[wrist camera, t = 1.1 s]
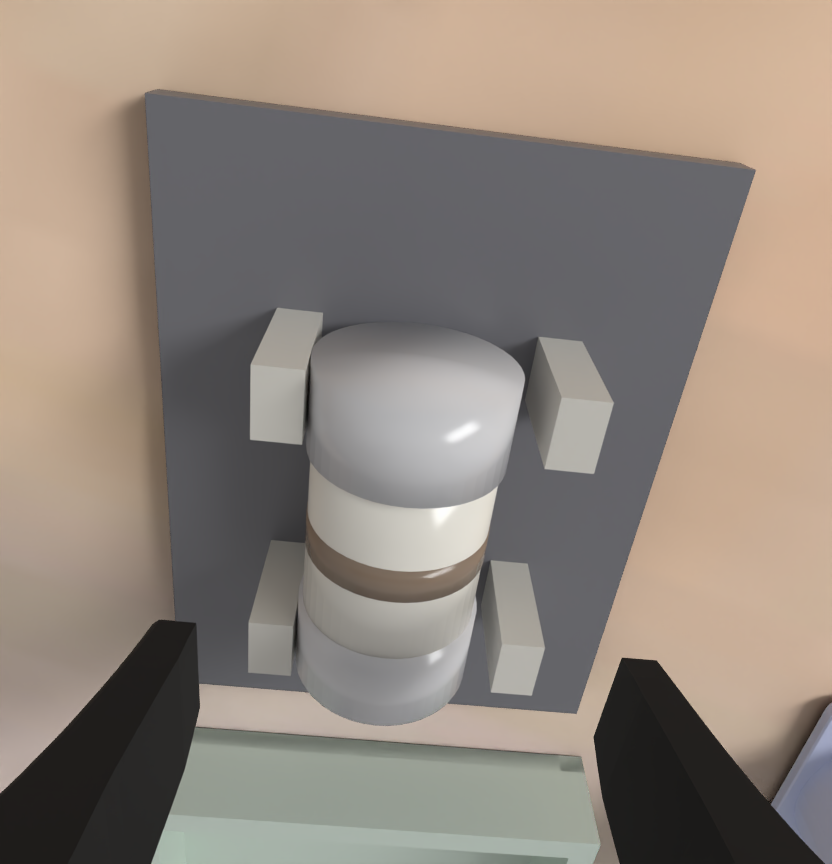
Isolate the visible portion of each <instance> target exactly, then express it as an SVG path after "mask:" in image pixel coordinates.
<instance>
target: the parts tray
mask: <svg viewBox="0 0 832 864" xmlns="http://www.w3.org/2000/svg"><path fill="white" fill-rule="evenodd" d="M600 845H601V843H600V839H599V835H598V830H597V826H596V821H595V817H594V812H593V808H592V803H591V799H590V794H589V790H588V785H587V781H586V776H585V772H584V768H583V763H582V759H581V757H575V756H562V755H549V754H536V753H523V752H510V751H497V750H484V749H471V748H458V747H445V746H432V745H418V744H405V743H392V742H379V741H366V740H353V739H340V738H327V737H314V736H301V735H288V734H275V733H262V732H249V731H236V730H223V729H210V728H197V727H195V730H194V734H193V739H192V743H191V747H190V751H189V755H188V759H187V763H186V767H185V770H184V773H183V776H182V779H181V782H180V785H179V787H178V790H177V793H176V796H175V799H174V802H173V804H172V807H171V810H170V813H169V816H168V818H167V821H166V824H165V827H164V830H163V832H162V835H161V838H160V841H159V843H158V846H157V849H156V852H155V855H154V857H153V860H152V863H151V864H593V862H594V860H595V857H596V855H597V853H598V850H599V848H600Z"/></svg>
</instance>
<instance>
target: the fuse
mask: <svg viewBox="0 0 832 864" xmlns="http://www.w3.org/2000/svg"><path fill="white" fill-rule="evenodd" d="M524 383H525V375H524V372H523V370H522V368H521V366H520V365H519V364H518V362H517V361H516V360H515V359H514V358H513V357H512V356H510V355H509V354H508V353H506V352H505V351H504V350H502V349H500V348H499V347H497V346H495V345H493V344H491V343H489V342H487V341H485V340H483V339H480V338H478V337H475V336H472V335H470V334H467V333H463V332H460V331H456V330H452V329H448V328H444V327H439V326H433V325H427V324H420V323H409V322H374V323H364V324H358V325H353V326H348V327H345V328H341V329H338V330H336V331H333V332H331V333H329V334H327V335H325V336H324V337H322V338H321V339H320V340H318V342H317V343H316V344H315V345H314V347H313V349H312V351H311V360H310V379H309V398H308V418H307V437H306V449H307V454H308V457H309V460H310V473H309V491H308V502H307V510H306V529H305V563H304V575H303V577H302V579H301V582H300V585H299V593H298V612H297V632H296V651H295V659H296V667H297V671H298V674H299V677H300V679H301V681H302V683H303V685H304V686H305V688H306V689H307V691H308V692H309V693H310V694H311V695H312V697H313V698H314V699H315V700H317V701H318V702H319V703H320V704H321V705H322V706H324V707H325V708H327V709H328V710H330V711H331V712H333V713H335V714H337V715H339V716H341V717H344V718H346V719H349V720H352V721H355V722H359V723H363V724H370V725H379V726H392V725H402V724H407V723H412V722H415V721H418V720H421V719H423V718H426V717H428V716H430V715H432V714H434V713H435V712H437V711H438V710H440V709H441V708H442V707H443V706H445V705H446V704H447V703H448V702H449V701H450V700H451V699H452V697H453V696H454V695H455V693H456V692H457V690H458V688H459V686H460V684H461V681H462V678H463V673H464V668H465V664H466V659H467V654H468V649H469V645H470V640H471V635H472V630H473V626H474V621H475V616H476V611H477V602H476V596H475V595H476V590H477V585H478V580H479V575H480V570H481V567H482V564H483V560H484V556H485V551H486V546H487V541H488V536H489V531H490V522H491V517H492V512H493V508H494V503H495V498H496V493H497V488H498V485H499V484H500V483H501V481H502V480H503V478H504V476H505V474H506V469H507V464H508V460H509V455H510V450H511V445H512V441H513V436H514V431H515V426H516V422H517V417H518V412H519V407H520V403H521V398H522V393H523V388H524Z"/></svg>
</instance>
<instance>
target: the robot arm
mask: <svg viewBox="0 0 832 864" xmlns="http://www.w3.org/2000/svg"><path fill="white" fill-rule="evenodd" d="M199 709H200V699H199V674H198V649H197V624H196V623H193V622H181V621H169V620H158V621H157V622H155V623H154V624H152V626H151V627H150V628H149V630H148V631H147V632H146V634H145V635H144V636H143V638H142V639H141V640H140V642H139V643H138V644H137V645H136V647H135V648H134V649H133V651H132V652H131V653H130V654H129V656H128V657H127V658H126V659H125V660H124V662H123V663H122V664H121V665H120V667H119V668H118V669H117V670H116V671H115V673H114V674H113V675H112V676H111V677H110V679H109V680H108V681H107V682H106V683H105V684H104V686H103V687H102V688H101V689H100V690H99V691H98V692H97V694H96V695H95V696H94V697H93V698H92V699H91V700H90V701H89V703H88V704H87V705H86V706H85V707H84V708H83V709H82V710H81V712H80V713H79V714H78V715H77V716H76V717H75V718H74V719H73V721H72V722H71V723H70V724H69V725H68V726H67V727H66V728H65V729H64V730H63V731H62V732H61V733H60V734H59V735H58V737H57V738H56V739H55V740H54V741H53V742H52V743H51V744H50V745H49V746H48V747H47V748H46V749H45V750H44V751H43V752H42V753H41V754H40V755H39V756H38V757H37V758H36V759H35V760H34V761H33V762H32V763H31V764H30V765H29V766H28V767H27V768H26V769H25V770H24V771H23V772H22V773H21V774H20V775H19V776H18V777H17V778H16V779H15V780H14V781H13V782H12V783H11V784H10V785H9V786H8V787H7V788H6V789H5V790H3V791H2V792H1V793H0V864H151V863H152V860H153V857H154V855H155V852H156V849H157V846H158V843H159V841H160V838H161V835H162V832H163V830H164V827H165V824H166V821H167V818H168V816H169V813H170V810H171V807H172V804H173V802H174V799H175V796H176V793H177V790H178V787H179V785H180V782H181V779H182V776H183V773H184V770H185V767H186V763H187V759H188V755H189V751H190V747H191V743H192V739H193V734H194V730H195V726H196V722H197V717H198V713H199ZM594 744H595V751H596V758H597V766H598V773H599V779H600V785H601V792H602V798H603V802H604V806H605V810H606V814H607V818H608V821H609V825H610V829H611V833H612V837H613V840H614V844H615V848H616V852H617V855H618V859H619V863H620V864H832V703H830V704H829V705H828V706H827V707H826V709H825V711H824V712H823V714H822V716H821V718H820V719H819V721H818V723H817V725H816V726H815V728H814V730H813V732H812V733H811V735H810V737H809V739H808V740H807V742H806V744H805V746H804V747H803V749H802V751H801V753H800V754H799V756H798V758H797V760H796V761H795V763H794V765H793V767H792V768H791V770H790V772H789V774H788V775H787V777H786V779H785V781H784V782H783V784H782V786H781V788H780V789H779V791H778V793H777V795H776V796H775V798H774V800H773V802H772V803H771V804H770V803H769V802H768V801H767V800H766V799H765V798H764V796H763V795H762V794H761V793H760V792H759V791H758V789H757V788H756V787H755V786H754V785H753V783H752V782H751V781H750V780H749V779H748V777H747V776H746V775H745V774H744V772H743V771H742V770H741V769H740V767H739V766H738V765H737V764H736V763H735V761H734V760H733V759H732V758H731V756H730V755H729V754H728V753H727V751H726V750H725V749H724V748H723V746H722V745H721V744H720V743H719V741H718V740H717V739H716V738H715V736H714V735H713V734H712V732H711V731H710V730H709V729H708V727H707V726H706V725H705V723H704V722H703V721H702V719H701V718H700V717H699V715H698V714H697V713H696V712H695V710H694V709H693V708H692V706H691V705H690V704H689V702H688V701H687V700H686V698H685V697H684V696H683V694H682V693H681V692H680V690H679V689H678V688H677V687H676V685H675V684H674V683H673V681H672V680H671V679H670V677H669V676H668V675H667V673H666V672H665V671H664V669H663V668H662V667H661V666H660V664H659V663H658V662H657V661H656V660H643V659H631V658H622V659H621V662H620V664H619V667H618V670H617V673H616V676H615V679H614V681H613V684H612V687H611V690H610V693H609V695H608V698H607V701H606V704H605V707H604V709H603V712H602V715H601V718H600V721H599V723H598V726H597V729H596V732H595V735H594Z"/></svg>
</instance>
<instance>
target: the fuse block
mask: <svg viewBox="0 0 832 864" xmlns="http://www.w3.org/2000/svg"><path fill="white" fill-rule="evenodd" d="M145 104H146V121H147V139H148V156H149V173H150V191H151V208H152V225H153V242H154V260H155V277H156V294H157V312H158V329H159V346H160V363H161V381H162V398H163V415H164V433H165V450H166V467H167V484H168V502H169V519H170V536H171V554H172V571H173V588H174V606H175V621H181V622H193V623H196V624H197V649H198V674H199V684H211V685H224V686H236V687H249V688H261V689H274V690H286V691H299V692H308V691H307V689H306V688H305V686H304V685H303V683H302V681H301V679H300V677H299V674H298V671H297V667H296V659H295V651H296V632H297V612H298V593H299V585H300V582H301V579H302V577H303V575H304V563H305V529H306V510H307V502H308V491H309V473H310V460H309V457H308V454H307V449H306V437H307V418H308V398H309V379H310V360H311V351H312V349H313V347H314V345H315V344H316V343H317V342H318V340H320V339H321V338H322V337H324V336H325V335H327V334H329V333H331V332H333V331H336V330H338V329H341V328H345V327H348V326H353V325H358V324H364V323H374V322H409V323H420V324H427V325H433V326H439V327H444V328H448V329H452V330H456V331H460V332H463V333H467V334H470V335H472V336H475V337H478V338H480V339H483V340H485V341H487V342H489V343H491V344H493V345H495V346H497V347H499V348H500V349H502V350H504V351H505V352H506V353H508V354H509V355H510V356H512V357H513V358H514V359H515V360H516V361H517V362H518V364H519V365H520V366H521V368H522V370H523V372H524V375H525V383H524V388H523V393H522V398H521V403H520V407H519V412H518V417H517V422H516V426H515V431H514V436H513V441H512V445H511V450H510V455H509V460H508V464H507V469H506V474H505V476H504V478H503V480H502V481H501V483H500V484H499V485H498V488H497V493H496V498H495V503H494V508H493V512H492V517H491V522H490V531H489V536H488V541H487V546H486V551H485V556H484V560H483V564H482V567H481V570H480V575H479V580H478V585H477V590H476V595H475V596H476V602H477V611H476V616H475V621H474V626H473V630H472V635H471V640H470V645H469V649H468V654H467V659H466V664H465V668H464V673H463V678H462V681H461V684H460V686H459V688H458V690H457V692H456V693H455V695H454V696H453V697H452V699H451V700H450V701H449V702H448V704H461V705H473V706H486V707H498V708H511V709H523V710H535V711H548V712H560V713H573V714H577V711H578V708H579V705H580V701H581V698H582V695H583V692H584V689H585V686H586V683H587V680H588V677H589V674H590V671H591V668H592V665H593V662H594V659H595V656H596V653H597V650H598V647H599V644H600V641H601V638H602V635H603V632H604V629H605V626H606V623H607V620H608V617H609V614H610V611H611V608H612V605H613V602H614V598H615V595H616V592H617V589H618V586H619V583H620V580H621V577H622V574H623V571H624V568H625V565H626V562H627V559H628V556H629V553H630V550H631V547H632V544H633V541H634V538H635V535H636V532H637V529H638V526H639V523H640V520H641V517H642V514H643V511H644V508H645V505H646V502H647V498H648V495H649V492H650V489H651V486H652V483H653V480H654V477H655V474H656V471H657V468H658V465H659V462H660V459H661V456H662V453H663V450H664V447H665V444H666V441H667V438H668V435H669V432H670V429H671V426H672V423H673V420H674V417H675V414H676V411H677V408H678V405H679V402H680V398H681V395H682V392H683V389H684V386H685V383H686V380H687V377H688V374H689V371H690V368H691V365H692V362H693V359H694V356H695V353H696V350H697V347H698V344H699V341H700V338H701V335H702V332H703V329H704V326H705V323H706V320H707V317H708V314H709V311H710V308H711V305H712V302H713V298H714V295H715V292H716V289H717V286H718V283H719V280H720V277H721V274H722V271H723V268H724V265H725V262H726V259H727V256H728V253H729V250H730V247H731V244H732V241H733V238H734V235H735V232H736V229H737V226H738V223H739V220H740V217H741V214H742V211H743V208H744V205H745V202H746V199H747V195H748V192H749V189H750V186H751V183H752V180H753V177H754V174H755V171H756V170H755V169H752V168H750V167H748V166H746V165H744V164H741V163H736V162H728V161H720V160H712V159H704V158H697V157H689V156H681V155H673V154H665V153H657V152H649V151H641V150H633V149H626V148H618V147H610V146H602V145H594V144H586V143H578V142H570V141H562V140H554V139H547V138H539V137H531V136H523V135H515V134H507V133H499V132H491V131H483V130H476V129H468V128H460V127H452V126H444V125H436V124H428V123H420V122H412V121H405V120H397V119H389V118H381V117H373V116H365V115H357V114H349V113H341V112H334V111H326V110H318V109H310V108H302V107H294V106H286V105H278V104H270V103H263V102H255V101H247V100H239V99H231V98H223V97H215V96H207V95H199V94H192V93H184V92H176V91H168V90H160V89H157V90H153V91H150V92H146V93H145Z"/></svg>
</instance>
